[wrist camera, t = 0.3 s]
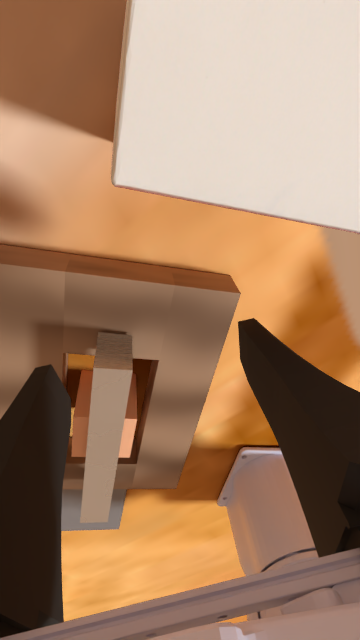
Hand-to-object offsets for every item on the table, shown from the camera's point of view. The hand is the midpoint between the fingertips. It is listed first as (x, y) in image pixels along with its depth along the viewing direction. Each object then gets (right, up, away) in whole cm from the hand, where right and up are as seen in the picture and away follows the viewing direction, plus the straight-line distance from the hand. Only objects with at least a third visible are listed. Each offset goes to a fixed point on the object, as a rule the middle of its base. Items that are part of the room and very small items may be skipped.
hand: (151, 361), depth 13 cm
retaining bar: (-4, -5, +11) cm, 13 cm away
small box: (+2, +13, +4) cm, 13 cm away
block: (-5, -4, +13) cm, 15 cm away
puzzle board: (-6, -3, +13) cm, 14 cm away
